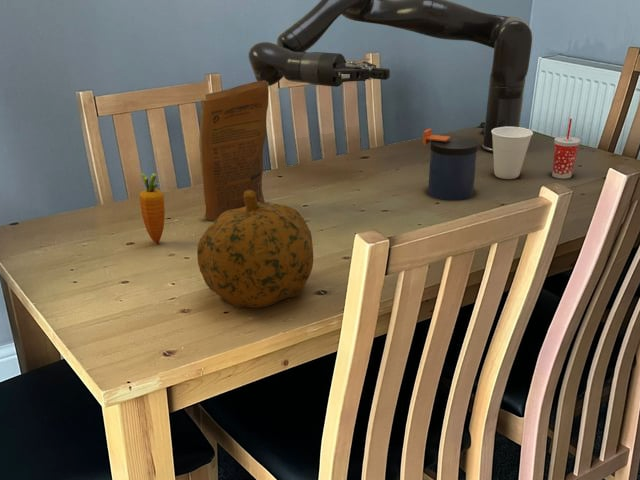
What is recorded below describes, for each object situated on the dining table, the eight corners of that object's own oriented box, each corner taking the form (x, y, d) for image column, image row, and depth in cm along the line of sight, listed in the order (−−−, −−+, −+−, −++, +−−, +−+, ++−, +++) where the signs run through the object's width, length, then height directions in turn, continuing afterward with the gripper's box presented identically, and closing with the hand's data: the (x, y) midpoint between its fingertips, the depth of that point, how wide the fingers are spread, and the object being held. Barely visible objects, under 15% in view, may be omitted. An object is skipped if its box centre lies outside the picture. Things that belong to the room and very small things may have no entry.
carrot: (142, 241, 167) (133, 171, 159) (165, 237, 168) (157, 167, 160) (148, 249, 163) (139, 178, 155) (171, 245, 164) (164, 174, 156)
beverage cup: (556, 170, 202) (565, 114, 195) (578, 175, 198) (588, 118, 191) (544, 176, 198) (552, 119, 191) (567, 181, 195) (576, 123, 187)
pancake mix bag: (280, 207, 183) (277, 80, 168) (211, 227, 173) (201, 94, 158) (263, 200, 187) (259, 76, 173) (194, 218, 178) (183, 88, 163)
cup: (531, 181, 195) (537, 136, 189) (490, 182, 195) (495, 137, 189) (521, 169, 203) (527, 126, 198) (483, 170, 204) (487, 126, 198)
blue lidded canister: (419, 196, 188) (423, 145, 181) (437, 182, 196) (440, 133, 189) (464, 203, 183) (469, 151, 176) (480, 189, 191) (485, 139, 184)
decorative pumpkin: (344, 294, 141) (334, 185, 130) (243, 335, 132) (224, 222, 122) (283, 261, 156) (270, 161, 145) (189, 296, 147) (168, 193, 137)
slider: (422, 144, 185) (423, 131, 184) (427, 141, 188) (428, 128, 186) (445, 147, 183) (446, 134, 181) (450, 144, 185) (451, 131, 184)
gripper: (335, 80, 199) (399, 85, 191) (309, 90, 190) (375, 96, 182) (335, 48, 195) (400, 52, 188) (309, 57, 186) (376, 62, 178)
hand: (388, 74), depth 185 cm, fingers closed
